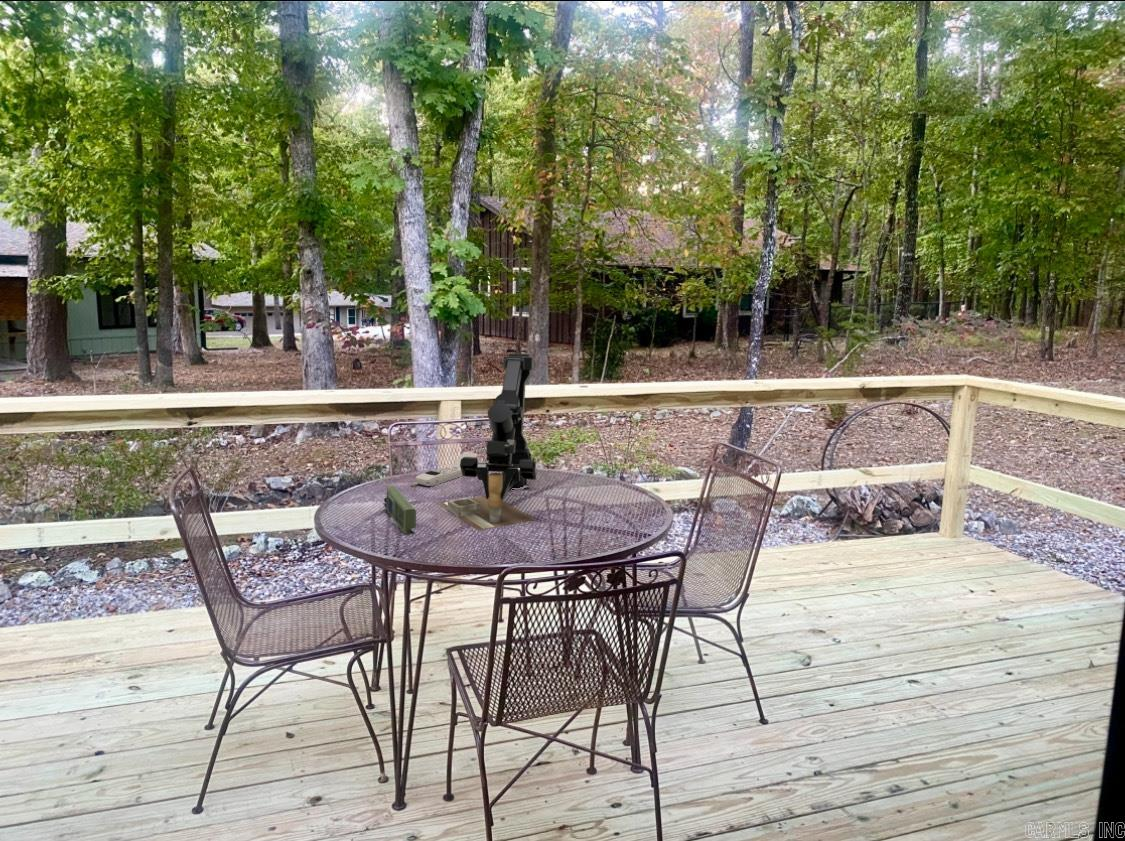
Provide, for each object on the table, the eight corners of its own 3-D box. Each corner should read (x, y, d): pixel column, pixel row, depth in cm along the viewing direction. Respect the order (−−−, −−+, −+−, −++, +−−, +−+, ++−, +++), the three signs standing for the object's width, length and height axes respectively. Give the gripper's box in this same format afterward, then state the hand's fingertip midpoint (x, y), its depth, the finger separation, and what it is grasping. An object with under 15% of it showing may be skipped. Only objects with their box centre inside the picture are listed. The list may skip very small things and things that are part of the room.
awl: (498, 518, 183) (498, 472, 181) (504, 522, 180) (505, 475, 178) (485, 520, 181) (486, 474, 179) (492, 524, 179) (492, 477, 176)
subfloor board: (491, 499, 202) (491, 486, 201) (535, 524, 184) (535, 509, 183) (438, 509, 193) (438, 494, 193) (478, 536, 175) (478, 520, 174)
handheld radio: (403, 536, 175) (379, 504, 196) (416, 534, 176) (391, 503, 198) (403, 509, 173) (379, 480, 195) (417, 508, 175) (392, 480, 197)
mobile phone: (479, 453, 229) (424, 470, 209) (479, 471, 230) (424, 490, 210) (465, 450, 232) (408, 467, 212) (465, 468, 234) (409, 486, 213)
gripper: (461, 425, 181) (451, 481, 172) (536, 428, 179) (530, 484, 171) (467, 448, 190) (458, 502, 181) (539, 451, 189) (533, 506, 180)
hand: (494, 498), depth 178 cm, fingers closed on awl, 3 cm apart
